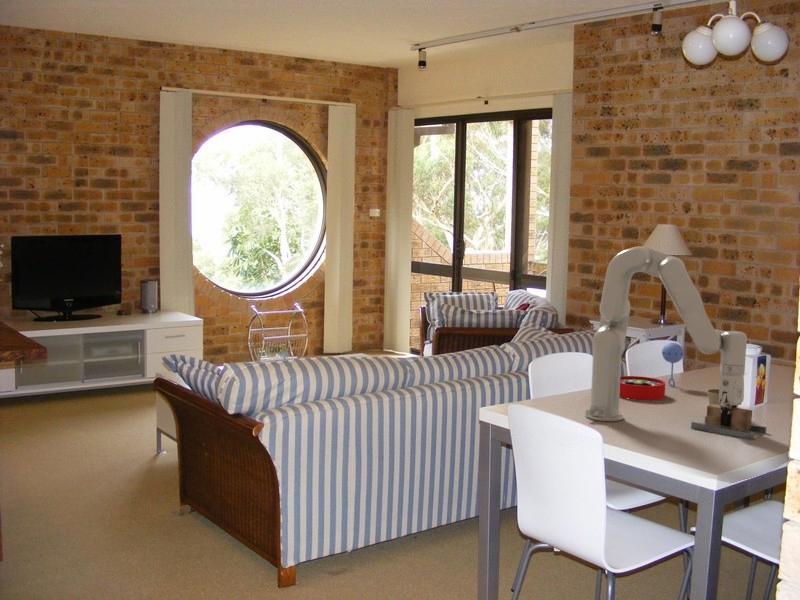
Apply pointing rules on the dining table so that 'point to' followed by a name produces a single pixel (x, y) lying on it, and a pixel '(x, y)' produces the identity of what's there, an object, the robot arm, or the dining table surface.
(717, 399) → the flower pot
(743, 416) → the walnut block
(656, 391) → the toy clock
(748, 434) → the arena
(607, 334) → the robot arm
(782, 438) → the dining table surface
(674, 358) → the baby rattle
